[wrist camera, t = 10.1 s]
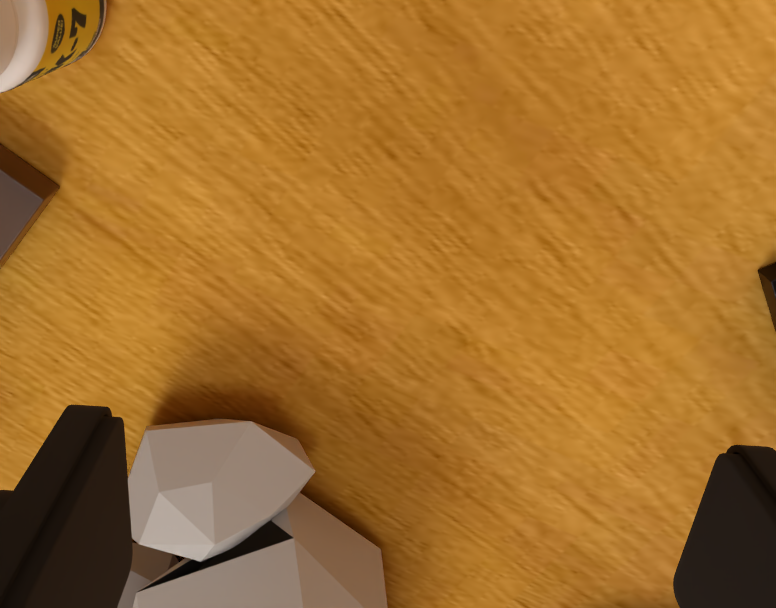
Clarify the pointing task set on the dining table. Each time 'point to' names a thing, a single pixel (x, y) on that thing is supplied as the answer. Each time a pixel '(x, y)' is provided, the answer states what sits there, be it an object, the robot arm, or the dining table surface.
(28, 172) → the lamp base
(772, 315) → the switch bracket
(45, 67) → the supplement bottle
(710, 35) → the dining table surface
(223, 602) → the rock
